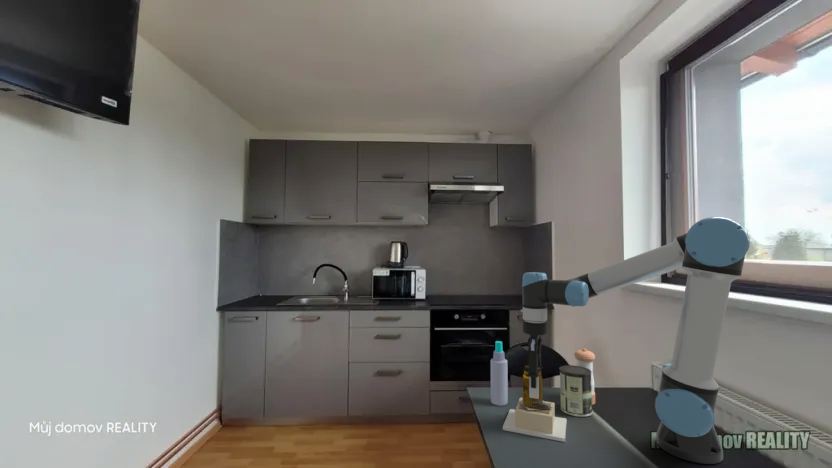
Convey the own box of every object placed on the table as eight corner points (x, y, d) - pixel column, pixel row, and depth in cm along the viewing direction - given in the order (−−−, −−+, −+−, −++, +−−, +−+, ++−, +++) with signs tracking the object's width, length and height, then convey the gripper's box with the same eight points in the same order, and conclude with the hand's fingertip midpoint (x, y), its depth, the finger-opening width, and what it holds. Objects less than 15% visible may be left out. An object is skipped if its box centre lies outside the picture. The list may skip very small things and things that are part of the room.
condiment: (518, 401, 123) (518, 364, 123) (542, 400, 124) (542, 363, 125) (528, 410, 116) (528, 371, 116) (553, 409, 117) (553, 370, 118)
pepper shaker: (572, 402, 137) (572, 349, 138) (574, 395, 144) (575, 344, 144) (594, 406, 134) (594, 352, 134) (595, 399, 140) (596, 347, 141)
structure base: (566, 421, 122) (566, 402, 122) (565, 442, 109) (564, 420, 110) (510, 411, 129) (510, 393, 130) (502, 429, 117) (502, 409, 117)
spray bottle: (506, 399, 140) (506, 340, 140) (508, 406, 134) (508, 344, 134) (489, 399, 140) (489, 339, 141) (491, 405, 134) (491, 343, 135)
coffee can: (585, 404, 135) (584, 365, 136) (597, 417, 125) (596, 374, 126) (556, 404, 136) (555, 364, 136) (566, 416, 126) (565, 374, 126)
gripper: (526, 314, 131) (527, 381, 130) (518, 325, 113) (518, 403, 112) (549, 316, 128) (549, 384, 127) (544, 327, 110) (545, 407, 109)
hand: (535, 393), depth 120 cm, fingers open, 7 cm apart
